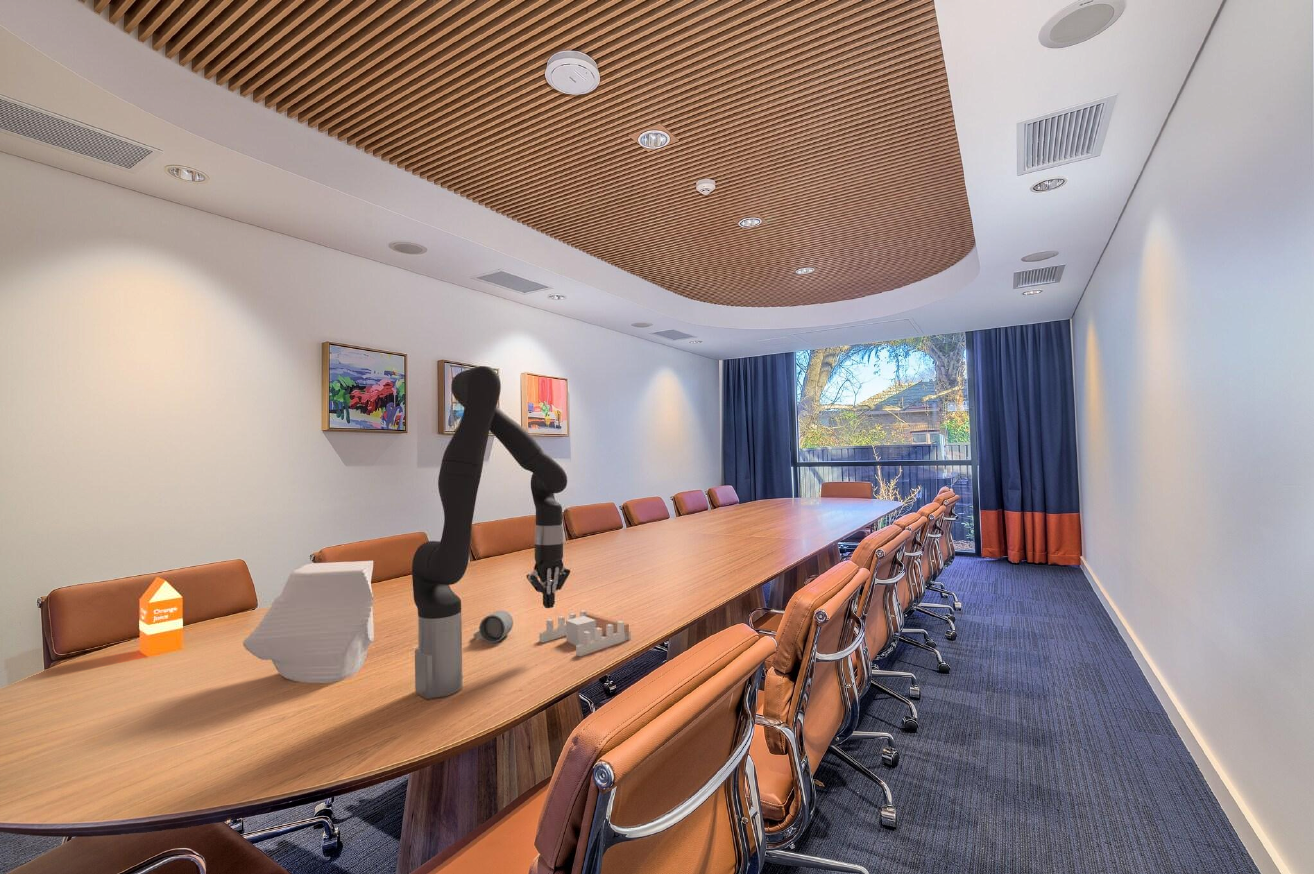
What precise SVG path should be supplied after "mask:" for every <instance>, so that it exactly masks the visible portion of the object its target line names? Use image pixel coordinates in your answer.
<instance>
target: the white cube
mask: <svg viewBox="0 0 1314 874" xmlns="http://www.w3.org/2000/svg"><path fill="white" fill-rule="evenodd" d="M565 625H566V636H565V637H566V639H565V641H566V642H567V643H570V644H571V645H573V646H575V647H576V646H577V645H580V644H583V632H585V631H588V632H591V641H593V640H595V628H596V620H594V619H591V618H588V617H586V616H582V617H580V616H579V617H576V618H573V619H565Z"/></svg>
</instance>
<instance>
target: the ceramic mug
mask: <svg viewBox="0 0 1314 874" xmlns="http://www.w3.org/2000/svg"><path fill="white" fill-rule="evenodd" d="M513 626H514V619H513V616H512V615H511V613H509V612H507V611H504V610H497V611H495V612H492V613H490V614H489V615H487V616H484V618H483V619H482V620H481V621H480V623H479V627H478V631H476V632H475V633H473V635H472V636H473V638H474V639H475V640H478V639H479V638H482V640H483V641H485V642H486V643H490V644H495V643H499V641H502V640H503V638H505V637H506V636H507V635H509V633H511V630H512V629H513Z"/></svg>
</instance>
